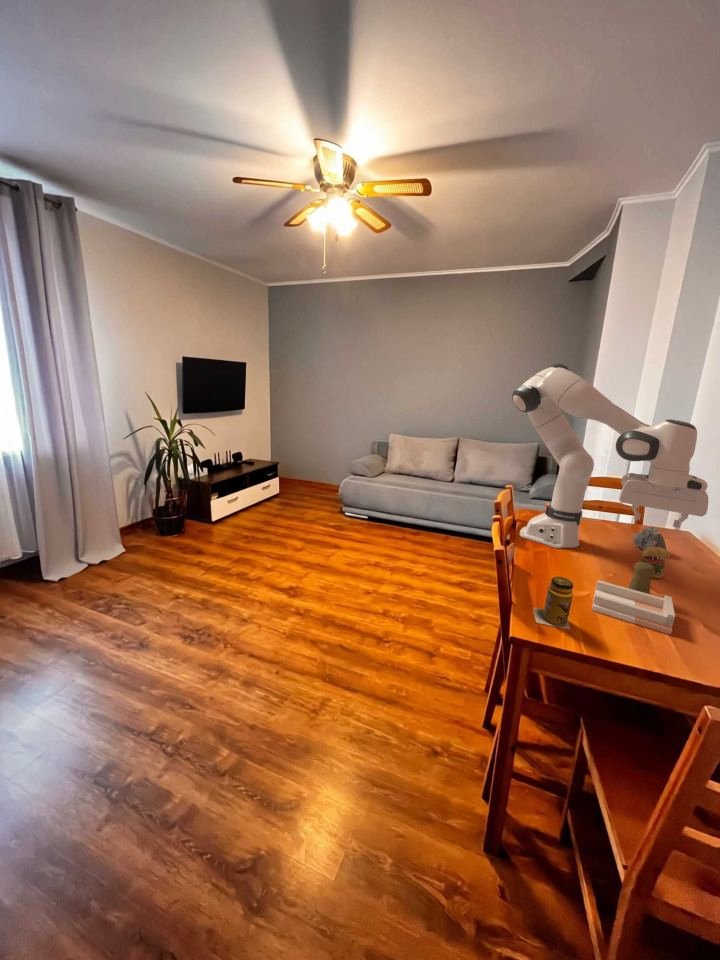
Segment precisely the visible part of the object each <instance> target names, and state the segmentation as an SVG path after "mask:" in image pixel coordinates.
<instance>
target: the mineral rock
mask: <svg viewBox="0 0 720 960" xmlns="http://www.w3.org/2000/svg"><path fill="white" fill-rule="evenodd" d="M653 541H655V542H658V543H655V544H654V543H653ZM632 542H633V543H634V544H635V545H636V546H637V547H639V548H640V549H642V551H643V550H644V549H646V548H649V547H660V548H663V549H665V550H667V545H666V541H665V537H664V536H663V535H662V532H660V531H659V529H658V528H657V527H656V526H648V527H644V529H642V531H641V530H640V531H639V532H637V533H636V534H634V535H633V536H632Z"/></svg>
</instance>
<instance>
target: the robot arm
mask: <svg viewBox="0 0 720 960" xmlns="http://www.w3.org/2000/svg"><path fill="white" fill-rule="evenodd" d="M511 399H512V402H513V404H514V406H515V408H516V409H517V410H519V411H520V412H523V413H527V416H528V419H529V421H530V422H531V424H532V425H533V428H534V429H535V431H536V433H538V435H539V437H540V439H542V441H543V443H544V445H545V446H546V448H547V449H548V451H549V452H550V454H551V455H552V456H553V458H554V460H555V461H556V463H557V464H558V466H559V469H558V473H557V474H558V475H557V477H556V482H555V485H554V488H553V493H552V499H551V503H546V504H545V505H544V511H543V513H541V514H538V515H536V516H533V517H532V518H531V519H530V520H528V522H527V524H526V526H523V527H522V528H521V529H520V531H519V536H520V537H521V538H524V539H527V540H530V541H534V542H537V543H539V544H542V545H545V546H548V547H549V546H550V547H551V548H555V549H563V548H565V549H566V548H568V549H570V548H571V549H573V548H578V547H579V546H580V538H579V533H580V532H579V530H580V524H581V523H582V518H583V504H584V499H585V495H586V491H587V489H588V485H589V483H590V481H591V477H592V474H593V471H594V467H595V462H594V459H593V457H592V455H591V454H590V453H589V452H587V450H586V449H585V448H584V445H583V444H582V443H581V441H580V439H579V438H578V436H577V434H576V432H575V430H574V429H573V427H572V426H571V424H570V422H569V420H568V419H567V418H566V415H564V413H563V412H562V411H564V412H565V413H567V414H569V415H570V416H573V417H574V418H578V419H586V420H590V421H597V422H600V423H602V424H604V425H607V426H608V427H610V429H612V430H613V431H615V432H617V433H618V434H619V436H618V437H617V440H616V443H615V451H616V452H617V454H618V456H619V457H620V458H622V460H623V459H624V460H626V461H629V462H649V463H650V465H649V471H648V472H647V473H648V474H642V473H640V474H639V473H634V472H629V473H626V474H624V475H623V476H622V478H621V486H622V488H621V490H620V495H619V498H618V499H619V501H620V502H621V503H622V504H627V505H628V504H629V505H631V509H632V512H633V514H634V515H633V520H636V521H640V519H641V512H638V510H637V509H638V507H643V508H644V507H645V508H650V509H656V510H662V511H666V512H667V511H669V512H673V513H679V514H680V515H681V517H679V519H674V520H673V523H672V524H673V525H672V526H673V528H677V529H680V528H681V524H682V523H683V522H685V520H687V519H688V518H689V516H697V517H704V516H706V515H707V512H708V507H709V495H708V492H707V491H706V490H708V489H707V488H708V482H707V481H706V480H705V479H702V478H701V477H697V476H695V475H692V474H690V469H691V467H690V465H691V464H690V463H691V460H692V458H693V457H694V454H695V451H696V446H697V440H698V439H697V438H698V430H697V427H696V426H695V425H693V424H692V423H689V422H686V421H682V420H676V419H664V420H663V421H661V422H659V423H655V424H653V425H650V424H646V423H644V422H642V421H640V420H639V419H637V418H636V417H635V416H633V415H631V413H629V412H627V411H626V410H625V409H622V408H621V407H619V406H618V405H617V404H615V403H613V402H612V401H611V400H610V399H609V398H608V397H606V396H605V395H604V394H603V393H601V392H600V390H598V389H597V388H596V387H595V386H594V385H592V384H591V383H590V382H588V381H587V380H585V379H584V378H583V377H581V376H580V375H578V374H576V373H574V372H573V371H571V370H570V369H569V368H568V367H567V366H566V365H564V364H562V363H556V364H555V363H554V364H552V365H549V366H547V367H546V368H544V369H543V370H541V371H539V372H537V373H536V374H534V375H533V376H532V377H530V378H529V379H527V380H526V381H525V382H524V383H522V384H521V385H519V386H518V387H516V388H515V390H513V392H512V397H511Z"/></svg>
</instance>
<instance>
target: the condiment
mask: <svg viewBox="0 0 720 960" xmlns="http://www.w3.org/2000/svg"><path fill="white" fill-rule="evenodd" d="M549 584H550V585H549V586H548V588H547V592H546V598H545V602H544V609H543V608H542V609H541V608H539V607H532V608H533V609H532V610H533V614H534V615H533V616H534V620H535V622H536V623H537V624H540V625H545V626H546V625H547V626H551V627H555V628H560V629H564V630H571V626H570V624H569V621H568V620H569V615H570V610H571V606H572V601H573V597H574V592H573V587H574V584H573V581H571V579H568V578H567V577H563V576H553V577H552V578H551V581H550V583H549Z"/></svg>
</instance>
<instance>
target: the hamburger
mask: <svg viewBox="0 0 720 960" xmlns="http://www.w3.org/2000/svg"><path fill="white" fill-rule="evenodd" d="M653 543H654V544H655V543H658V542H655V541H653ZM669 557H671V555H670V552H669V550H667V549H666V550H665V549H663V548H660V547H649V548H646V549H644V550H643V549H642V552H641V561H640V562H645V563H648V564H651V565H652V566H653V567H654V568H655V573H654V575H653V576H651V579H661V578H663V577H664V575H665V574H664V569H665V566H666V563H665V561H667V558H669ZM664 560H665V561H664Z"/></svg>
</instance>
